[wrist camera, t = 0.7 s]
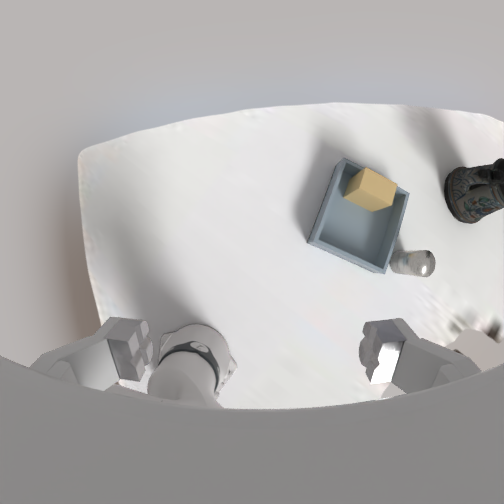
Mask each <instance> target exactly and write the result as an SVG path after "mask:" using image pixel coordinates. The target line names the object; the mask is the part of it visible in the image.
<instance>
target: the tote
mask: <svg viewBox="0 0 504 504" xmlns="http://www.w3.org/2000/svg"><path fill="white" fill-rule="evenodd" d="M363 169H364V168H363V167H361V166H359V165H358V164H356V163H354V162H352V161H350V160H348V159H346V158H343V159H342V160H341V161H340V162H339V163H338V164H337V165H336V167H335V170H334V173H333V176H332V178H331V181H330V184H329V187H328V190H327V192H326V195H325V198H324V200H323V203H322V206H321V208H320V211H319V214H318V216H317V219H316V222H315V224H314V227H313V229H312V232H311V234H310V237H309V240H308V242H307V243H308V244H311V245H313V246H315V247H318V248H320V249H322V250H324V251H327V252H329V253H331V254H333V255H336V256H338V257H340V258H342V259H345V260H347V261H349V262H351V263H354V264H356V265H358V266H360V267H362V268H365V269H367V270H369V271H371V272H373V273H381V274H385V272H386V269H387V267H388V264H389V261H390V258H391V255H392V252H393V249H394V246H395V243H396V240H397V237H398V233H399V230H400V227H401V223H402V220H403V216H404V213H405V209H406V205H407V201H408V198H409V194H410V193H408V192H406V191H405V190H403V189H401V188H400V187H398V186H397V188H396V192H395V195H394V199H393V203H392V205H391V206H388V207H386V208H383V209H380V210H377V211H374V212H371V211H369V210H367V209H365V208H363V207H361V206H359V205H357V204H355V203H353V202H351V201H349V200H347V199H345V198H343V197H344V194H345V191H346V188H347V185H348V182H349V179H350V178H352V177H353V176H354V175H356V174H357V173H359V172H360V171H361V170H363Z"/></svg>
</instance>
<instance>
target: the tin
mask: <svg viewBox="0 0 504 504" xmlns="http://www.w3.org/2000/svg"><path fill="white" fill-rule="evenodd" d="M390 267H391V269H392V271H393V272H395V273H397V274H405V275H413V276H421V277H428V276H430V275H431V274H432V273H433V271H434V269H435V258H434V255H433V254H432V253H431V252H430V251H427V250H420V251H396V252H395V253H393V254H392V256H391V258H390Z"/></svg>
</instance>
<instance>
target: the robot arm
mask: <svg viewBox="0 0 504 504" xmlns="http://www.w3.org/2000/svg"><path fill="white" fill-rule="evenodd" d="M148 332H149V327H148V323H147V322H146V321H145V320H137V319H128V318H121V317H110V318H109V319H108V320H107V321H106V322H105V323H104V324H103V325H102V326H101V327H100V329H99V330H98V331H97V332H96V333H95V334H94V335H93V336H88V337H85V338H83V339H81V340H78V341H75V342H73V343H70V344H68V345H65V346H62V347H60V348H57V349H55V350H52V351H49V352H47V353H44V354H42V355H41V356H40V357H39V358H38V359H37V360H36V361H35V362H34V363H33V364H32V365H31V366H30V367H29V368H28V367H25V366H23V365H20V364H18V363H15V362H13V361H11V360H9V359H6V358H4V357H2V356H0V504H504V363H503V364H501V365H498V366H496V367H493V368H491V369H488V370H486V371H483V372H482V371H481V370H480V369H479V368H478V367H477V365H476V364H475V363H474V362H473V361H472V360H471V359H470V358H469V357H467V356H464V355H462V354H459V353H457V352H455V351H452V350H450V349H447V348H445V347H442V346H440V345H438V344H435V343H433V342H430V341H428V340H426V339H423V338H421V339H419V337H418V336H417V335H416V334H415V333H414V332H413V330H412V329H411V328H410V327H409V326H408V324H407V323H406V322H405V321H404V320H403V319H401V318H396V319H389V320H381V321H371V322H366V323H365V325H364V328H363V334H364V335H365V337H364V338H363V339H362V341H361V342H360V347H359V358H360V361H361V364H362V365H363V366H365V367H366V368H367V369H366V374H367V377H368V379H369V381H370V383H371V384H372V383H380V382H387V381H391V382H392V383H393V384H395V385H396V386H398V387H399V388H400V389H401V390H403V391H404V392H405V393H407V394H404V395H399V396H394V397H389V398H384V399H378V400H372V401H366V402H359V403H352V404H344V405H335V406H325V407H312V408H296V409H228V408H223V407H222V406H221V405H220V404H219V403H218V402H217V401H216V399H217V398H218V396H219V392H220V390H221V389H222V388H223V387H224V385H225V384H226V383H227V381H228V380H229V379H230V377H231V376H232V375H233V373H234V372H235V371H236V369H237V365H236V363H235V361H234V360H233V359H232V357H231V355H230V352H229V348H228V345H227V343H226V341H225V339H224V338H223V337H222V336H221V335H220V334H219V333H218V332H217V331H216V330H214V329H212V328H210V327H208V326H205V325H199V324H193V325H188V326H185V327H183V328H181V329H179V330H178V331H176V332H174V333H167V334H164V335H163V336H162V338H161V343H160V352H159V360H158V367H157V368H156V370H155V371H154V372H153V373H152V375H151V376H150V378H149V381H148V386H147V391H148V394H145V393H142V392H139V391H136V390H133V389H129V388H127V387H124V386H121V385H115V384H114V383H116V382H117V381H119V380H120V379H125V380H132V381H139V382H140V380H141V378H142V376H143V375H144V373H145V371H146V370H145V365H147V364H149V363H150V361H151V359H152V354H153V345H152V340H151V339H150V338H149V337H148V336H147V334H148ZM229 370H230V372H229Z"/></svg>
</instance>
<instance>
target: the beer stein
mask: <svg viewBox="0 0 504 504" xmlns="http://www.w3.org/2000/svg"><path fill="white" fill-rule="evenodd" d="M444 193H445V200H446V203H447V206H448V209H449V210H450V212H451V213H452V215H453V216H454V217H455V218H456V219H457V220H458V221H460V222H463V223H470V224H472V223H476V222H478V221H479V220H480V219H481V218H483V217H485V216H486V215H488V214H491V213H493V212H495V211H497V210H500V209H502V208H504V159H502V158H500V159H498V160H496V161H495V162H494V163H493V164H490V165H483V166H477V167H472V168H466V167H458V168H456V169H454V170H453V171H452V172H451V173H450V174H449V175H448V177H447V178H446V180H445V188H444Z"/></svg>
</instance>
